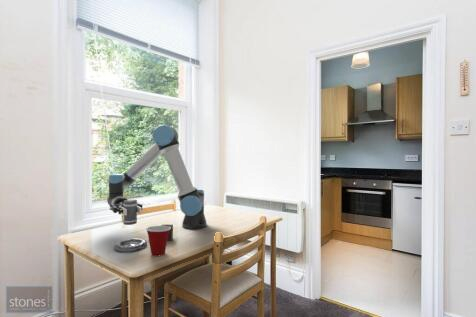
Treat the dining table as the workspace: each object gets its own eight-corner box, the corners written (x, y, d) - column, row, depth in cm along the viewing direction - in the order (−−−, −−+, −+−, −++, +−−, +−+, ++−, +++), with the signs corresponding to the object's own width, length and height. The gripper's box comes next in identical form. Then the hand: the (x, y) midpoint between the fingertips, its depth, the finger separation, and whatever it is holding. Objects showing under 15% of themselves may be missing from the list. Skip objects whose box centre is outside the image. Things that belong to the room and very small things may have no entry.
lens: (139, 221, 129) (139, 199, 129) (133, 225, 123) (134, 202, 122) (126, 221, 129) (126, 199, 129) (120, 224, 123) (121, 201, 122)
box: (161, 238, 139) (161, 224, 139) (173, 237, 139) (173, 224, 139) (159, 241, 133) (159, 227, 133) (171, 241, 133) (171, 227, 133)
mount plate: (151, 241, 133) (151, 237, 133) (140, 252, 118) (140, 248, 118) (122, 241, 133) (122, 237, 133) (107, 252, 118) (107, 247, 118)
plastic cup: (175, 250, 120) (175, 225, 120) (161, 259, 110) (161, 231, 110) (155, 247, 124) (156, 223, 124) (140, 256, 114) (140, 229, 114)
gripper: (138, 208, 146) (153, 216, 128) (101, 213, 134) (111, 222, 116) (138, 195, 146) (153, 201, 127) (101, 198, 134) (111, 205, 116)
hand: (133, 211), depth 122 cm, fingers closed on lens, 6 cm apart
